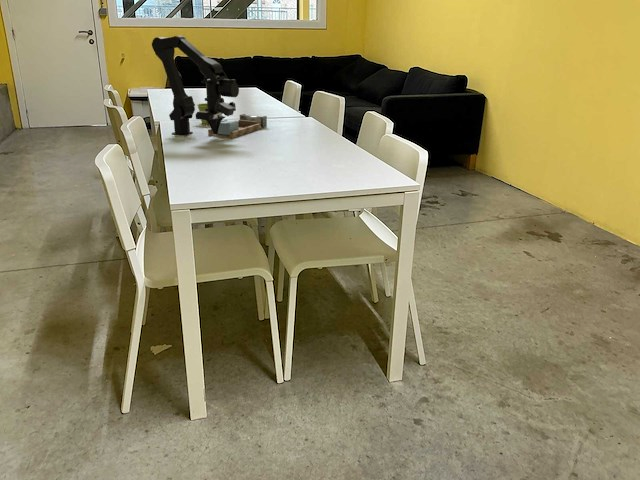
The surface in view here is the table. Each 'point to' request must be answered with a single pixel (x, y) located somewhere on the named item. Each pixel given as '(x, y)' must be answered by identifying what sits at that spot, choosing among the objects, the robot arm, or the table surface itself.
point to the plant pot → (202, 108)
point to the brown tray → (240, 129)
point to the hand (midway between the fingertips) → (215, 134)
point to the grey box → (227, 127)
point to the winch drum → (255, 119)
